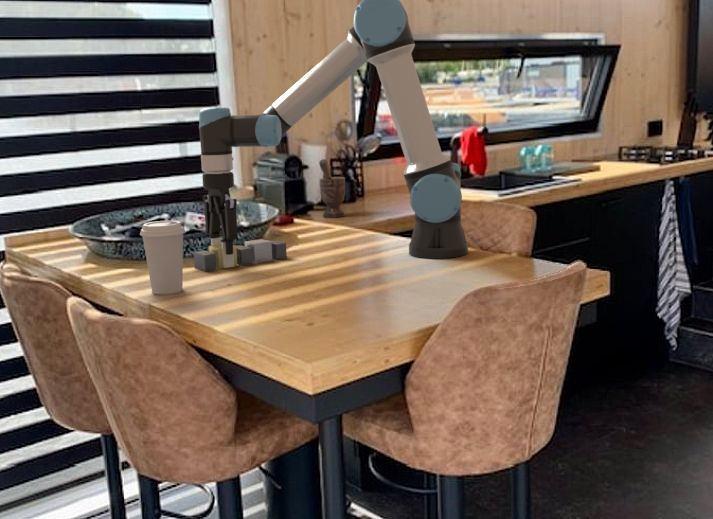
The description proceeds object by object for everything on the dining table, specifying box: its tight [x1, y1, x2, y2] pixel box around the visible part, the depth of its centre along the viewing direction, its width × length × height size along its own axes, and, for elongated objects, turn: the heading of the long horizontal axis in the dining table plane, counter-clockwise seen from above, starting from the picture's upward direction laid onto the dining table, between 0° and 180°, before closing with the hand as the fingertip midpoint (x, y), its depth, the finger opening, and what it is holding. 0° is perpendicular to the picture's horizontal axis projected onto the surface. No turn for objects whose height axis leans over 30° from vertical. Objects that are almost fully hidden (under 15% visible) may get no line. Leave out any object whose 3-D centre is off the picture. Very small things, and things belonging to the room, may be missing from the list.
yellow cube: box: [208, 244, 238, 270], centre depth 211 cm, size 5×5×5 cm
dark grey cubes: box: [193, 239, 288, 272], centre depth 213 cm, size 6×23×4 cm, turn 126°
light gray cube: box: [244, 238, 273, 264], centre depth 216 cm, size 5×5×5 cm
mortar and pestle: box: [319, 158, 346, 219], centre depth 285 cm, size 12×9×20 cm
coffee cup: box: [139, 220, 186, 296], centre depth 184 cm, size 10×10×15 cm
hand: (223, 265), depth 211 cm, fingers closed on yellow cube, 5 cm apart
